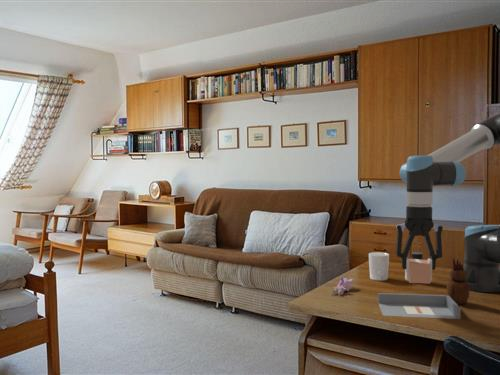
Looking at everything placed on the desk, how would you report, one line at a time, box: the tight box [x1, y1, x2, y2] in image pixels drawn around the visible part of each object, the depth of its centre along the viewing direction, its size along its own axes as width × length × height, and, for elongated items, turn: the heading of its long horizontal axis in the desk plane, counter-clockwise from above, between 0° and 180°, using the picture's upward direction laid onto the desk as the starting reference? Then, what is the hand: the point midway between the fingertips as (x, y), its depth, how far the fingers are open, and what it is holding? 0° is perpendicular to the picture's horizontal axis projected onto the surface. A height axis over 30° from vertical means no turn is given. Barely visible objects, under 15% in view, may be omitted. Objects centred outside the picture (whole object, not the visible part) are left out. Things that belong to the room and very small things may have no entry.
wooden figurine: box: [446, 257, 471, 305], centre depth 147 cm, size 7×6×15 cm
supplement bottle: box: [409, 251, 425, 260], centre depth 174 cm, size 6×6×11 cm
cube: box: [407, 258, 432, 285], centre depth 139 cm, size 6×6×6 cm
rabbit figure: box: [331, 277, 354, 297], centre depth 162 cm, size 6×6×15 cm
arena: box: [377, 292, 462, 320], centre depth 139 cm, size 22×13×4 cm, turn 80°
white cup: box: [368, 251, 390, 282], centre depth 179 cm, size 8×8×10 cm
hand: (418, 279), depth 139 cm, fingers closed on cube, 6 cm apart
